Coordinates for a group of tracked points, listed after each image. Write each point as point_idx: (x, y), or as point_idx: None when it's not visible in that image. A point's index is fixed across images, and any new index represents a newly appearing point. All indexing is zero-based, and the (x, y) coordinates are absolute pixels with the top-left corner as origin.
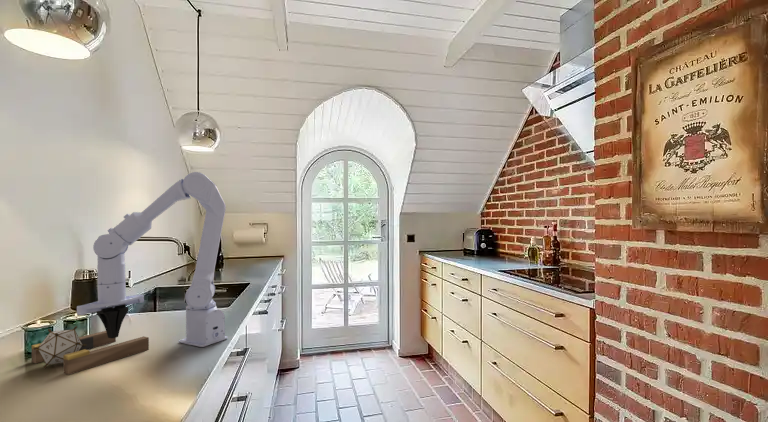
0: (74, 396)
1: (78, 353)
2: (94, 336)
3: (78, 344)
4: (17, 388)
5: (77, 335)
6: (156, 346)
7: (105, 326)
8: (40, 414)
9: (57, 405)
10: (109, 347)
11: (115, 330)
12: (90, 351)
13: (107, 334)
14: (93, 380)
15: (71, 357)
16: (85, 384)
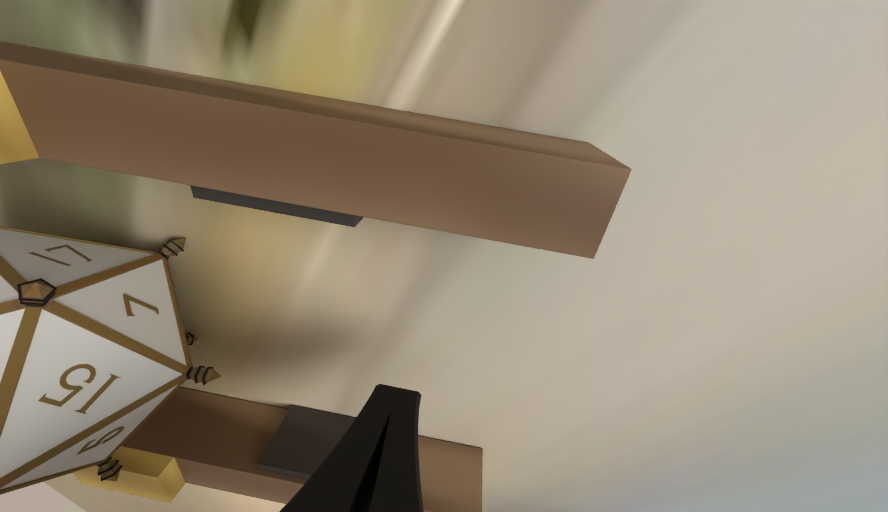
0: (147, 506)
1: (123, 491)
2: (374, 215)
3: (113, 465)
4: None
5: (75, 444)
6: (523, 472)
7: (321, 476)
8: (81, 506)
9: (111, 506)
10: (280, 493)
11: (370, 498)
12: (199, 463)
13: (365, 405)
14: (205, 487)
15: None
16: (182, 487)
